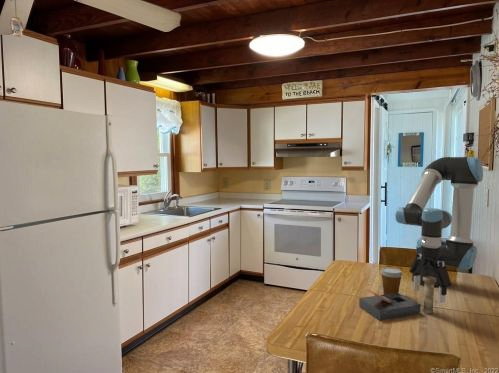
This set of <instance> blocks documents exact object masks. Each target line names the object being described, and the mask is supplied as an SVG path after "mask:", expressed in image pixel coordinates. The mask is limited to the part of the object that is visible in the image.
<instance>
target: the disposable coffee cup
mask: <svg viewBox="0 0 499 373" xmlns="http://www.w3.org/2000/svg"><path fill="white" fill-rule="evenodd" d="M380 273H381V281H382V290H383V291H382V292H383V295H384V294H391V293H399V292H400V287H401V286H400V285H401V280H402V276H403V273H402V270H401V269H399V268H396V267H387V266H386V267H382V268H381V270H380Z"/></svg>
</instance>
